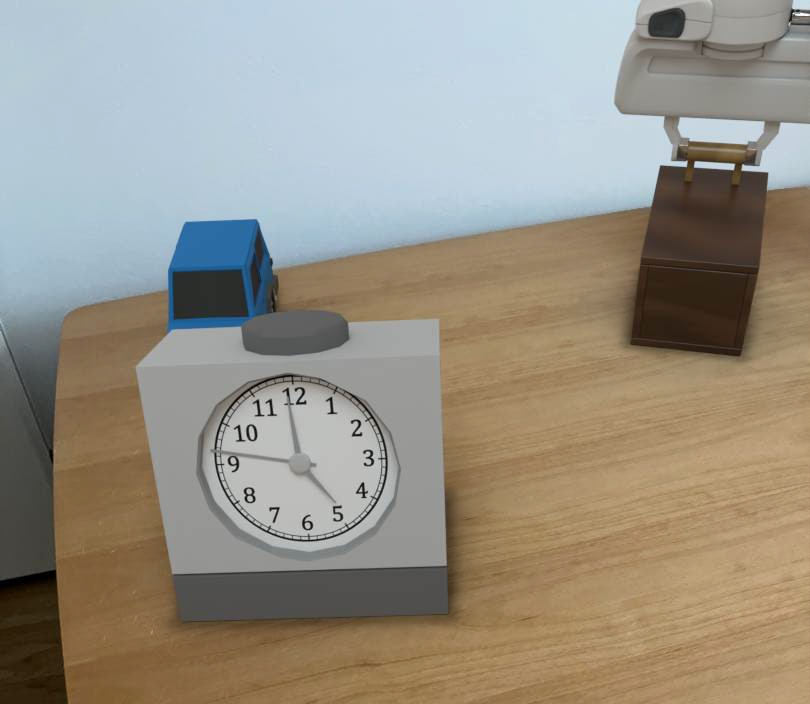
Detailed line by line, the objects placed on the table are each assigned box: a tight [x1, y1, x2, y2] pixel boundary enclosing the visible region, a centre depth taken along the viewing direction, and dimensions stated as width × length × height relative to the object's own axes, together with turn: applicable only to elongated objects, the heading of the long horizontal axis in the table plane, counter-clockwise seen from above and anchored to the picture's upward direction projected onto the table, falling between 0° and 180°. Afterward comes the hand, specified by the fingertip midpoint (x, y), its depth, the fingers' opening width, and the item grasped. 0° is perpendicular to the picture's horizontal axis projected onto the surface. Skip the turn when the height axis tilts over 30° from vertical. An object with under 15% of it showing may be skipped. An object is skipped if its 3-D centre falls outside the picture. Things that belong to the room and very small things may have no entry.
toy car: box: [166, 218, 280, 335], centre depth 100 cm, size 9×19×10 cm, turn 179°
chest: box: [630, 263, 759, 357], centre depth 101 cm, size 15×11×9 cm
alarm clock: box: [135, 309, 449, 623], centre depth 75 cm, size 20×16×20 cm
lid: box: [639, 140, 769, 275], centre depth 96 cm, size 15×11×5 cm
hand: (714, 161), depth 98 cm, fingers closed on lid, 5 cm apart
